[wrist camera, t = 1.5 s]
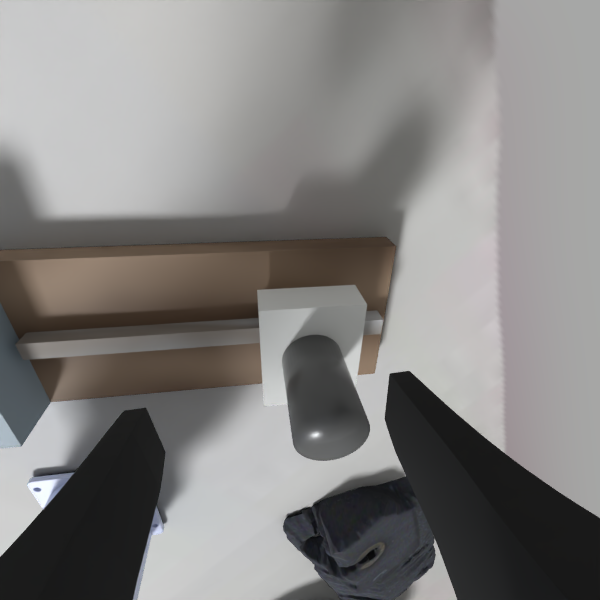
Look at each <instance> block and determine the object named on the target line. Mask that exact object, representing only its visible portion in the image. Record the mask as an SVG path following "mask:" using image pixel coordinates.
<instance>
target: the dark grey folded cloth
mask: <svg viewBox="0 0 600 600" xmlns="http://www.w3.org/2000/svg"><path fill="white" fill-rule="evenodd" d="M301 512H302V513H301V514H299V515H295V516H292V517H289V518H287V519H286V520H285V522H284V525H283V530H284V532H285V533H286V535H287V538H288V540H289V541H290V542H291V543H292V544H293V545H294V546H295V547H296V548H297V549H298V550H299V551H300V552H301V553H302V554H303V555H304V556H305V557H306V558H308V559H309V560H310V561H311V562H312V563H313V564H314V565H315V567H314V569H315V570H316V571H317V572H318V574H319V575H320V576H321V578H323V579H324V580H325V581H326V582H327V583H328V585H329V586H330V587H332V588H333V589H334V591H335V592H336V593H337V595H338V596H339V598H340V599H341V600H394V599H396V598H397V597H398V596H400V595H401V594H402V593H403V592H404V591H405V590H407V588H408V587H409V586H410V585H411V584H412V583H413V582H414V581H416V580H418V579H419V578H420V577H422V576H423V575H424V574H425V573H426V572H427V571H428V570H429V569H430V568H432V566H433V564H434V560H435V548H434V546H433V544H434V536H433V533H432V530H431V528H430V526H429V524H428V522H427V519H426V517H425V515H424V513H423V511H422V509H421V506H420V504H419V502H418V500H417V498H416V496H415V493H414V491H413V489H412V487H411V485H410V483H409V480H408V478H407V476H406V477H403V478H400V479H397V480H394V481H390V482H387V483H384V484H381V485H378V486H366V487H361V488H357V489H354V490H350V491H347V492H345V493H342V494H339V495H336V496H333V497H329V498H326V499H324V500H322V501H320V503H319V504H316V505H313V506H312V507H311V508H307V509H304V510H301ZM317 534H318V535H319V536H317V537H312V536H315V535H317Z"/></svg>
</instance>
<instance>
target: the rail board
mask: <svg viewBox="0 0 600 600" xmlns="http://www.w3.org/2000/svg"><path fill="white" fill-rule="evenodd" d="M395 251H396V246H395V245H394V244H393V243H392V242H391V241H390V240H389V239H388V238H387V237H371V238H341V239H311V240H282V241H252V242H222V243H192V244H163V245H133V246H103V247H73V248H44V249H14V250H0V303H1V305H2V307H3V309H4V311H5V313H6V315H7V317H8V319H9V321H10V323H11V325H12V327H13V329H14V331H15V333H16V335H17V336H18V338H19V341H18V342H17V343H16V344H15V345H16V347H17V349H18V351H19V353H20V355H21V357H22V359H23V360H30V362H31V364H32V366H33V368H34V370H35V372H36V374H37V376H38V378H39V380H40V382H41V384H42V386H43V388H44V390H45V392H46V394H47V396H48V398H49V400H50V402H57V401H68V400H79V399H91V398H102V397H113V396H125V395H136V394H147V393H159V392H170V391H181V390H192V389H204V388H215V387H226V386H238V385H249V384H260V383H262V367H261V350H260V331H259V314H258V296H257V290H264V289H283V288H302V287H321V286H341V285H356V287H357V289H358V290H359V292H360V294H361V295H362V297H363V298H364V300H365V302H366V303H367V310H366V317H365V325H364V332H363V339H362V347H361V354H360V361H359V369H358V375H362V374H373V373H375V369H376V363H377V357H378V351H379V345H380V339H381V333H382V327H383V321H384V315H385V310H386V304H387V298H388V292H389V286H390V280H391V274H392V268H393V262H394V256H395Z"/></svg>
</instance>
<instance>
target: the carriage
mask: <svg viewBox="0 0 600 600" xmlns="http://www.w3.org/2000/svg"><path fill="white" fill-rule="evenodd" d="M257 296H258V314H259V331H260V350H261V367H262V385H263V401H264V406H275V405H285V404H288V410H289V417H290V425H291V432H292V439H293V445H294V447H295V449H296V451H297V452H298V453H299V454H301V455H302V456H304V457H306V458H309V459H312V460H319V461H327V460H334V459H338V458H342V457H344V456H347V455H349V454H351V453H353V452H354V451H356V450H357V449H358V448H360V447H361V446H362V445H363V444H364V442H365V441H366V439H367V438H368V436H369V432H370V425H369V421H368V419H367V416H366V414H365V411H364V409H363V406H362V404H361V401H360V398H359V396H358V393H357V391H356V383H357V376H358V369H359V361H360V354H361V347H362V339H363V332H364V325H365V317H366V310H367V303H366V302H365V300H364V298H363V297H362V295H361V294H360V292H359V290H358V289H357V287H356V285H341V286H321V287H302V288H283V289H264V290H257Z"/></svg>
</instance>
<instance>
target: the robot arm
mask: <svg viewBox="0 0 600 600" xmlns="http://www.w3.org/2000/svg"><path fill="white" fill-rule="evenodd" d="M385 421H386V425H387V428H388V431H389V434H390V437H391V440H392V443H393V446H394V449H395V452H396V454H397V456H398V458H399V461H400V463H401V465H402V467H403V469H404V472H405V474H406V476H407V478H408V480H409V483H410V485H411V487H412V489H413V491H414V493H415V496H416V498H417V500H418V502H419V504H420V506H421V509H422V511H423V513H424V515H425V517H426V519H427V522H428V524H429V526H430V528H431V530H432V533H433V535H434V538H435V540H436V542H437V545H438V547H439V550H440V553H441V555H442V558H443V561H444V563H445V566H446V569H447V572H448V574H449V577H450V580H451V583H452V585H453V588H454V591H455V594H456V597H457V600H600V518H599V517H597V516H596V515H594V514H592V513H591V512H589V511H588V510H586V509H584V508H583V507H581V506H579V505H578V504H576V503H575V502H573V501H572V500H570V499H569V498H567V497H565V496H564V495H562V494H561V493H559V492H558V491H556V490H555V489H553V488H552V487H550V486H549V485H548V484H546V483H545V482H543V481H542V480H540V479H539V478H538V477H536V476H535V475H533V474H532V473H530V472H529V471H527V470H526V469H525V468H523V467H522V466H521V465H519V464H518V463H517V462H515V461H514V460H512V459H511V458H510V457H509V456H507V455H506V454H505V453H504V452H502V451H501V450H500V449H498V448H497V447H496V446H495V445H493V444H492V443H491V442H490V441H488V440H487V439H486V438H485V437H483V436H482V435H481V434H480V433H479V432H477V431H476V430H475V429H474V428H473V427H471V426H470V425H469V424H468V423H467V422H466V421H464V420H463V419H462V418H461V417H460V416H459V415H457V414H456V413H455V412H454V411H453V410H452V409H450V408H449V407H448V406H447V405H446V404H445V403H444V402H443V401H442V400H440V399H439V398H438V397H437V396H436V395H435V394H434V393H433V392H432V391H431V390H430V389H428V388H427V387H426V386H425V385H424V384H423V383H422V382H421V381H420V380H419V379H418V378H417V377H415V376H414V375H413V374H412V373H411V372H410V371H405V372H398V373H391V374H390V376H389V385H388V394H387V403H386V412H385ZM164 459H165V450H164V448H163V446H162V443H161V441H160V439H159V436H158V434H157V432H156V430H155V427H154V425H153V423H152V420H151V418H150V416H149V413H148V411H147V409H146V408H141V409H134V410H126V411H124V412H123V413H122V414H121V415H120V416H119V418H118V419H117V420H116V421H115V423H114V424H113V425H112V426H111V428H110V429H109V430H108V431H107V433H106V434H105V435H104V436H103V438H102V439H101V440H100V441H99V443H98V444H97V445H96V447H95V448H94V449H93V450H92V452H91V453H90V454H89V455H88V457H87V458H86V459H85V460H84V462H83V463H82V464H81V465H80V466H79V468H78V469H77V470H76V471H75V472H74V473H65V474H56V475H48V476H39V477H33V478H31V479H30V480H29V482H28V484H27V486H28V487H29V489H30V490H31V492H32V493H33V495H34V496H35V498H36V499H37V501H38V502H39V504H40V505H41V507H42V508H43V510H42V511H41V513H40V514H39V515H38V516H37V517H36V518H35V519H34V521H33V522H32V523H31V524H30V525H29V526H28V527H27V529H26V530H25V531H24V532H23V533H22V534H21V535H20V536H19V537H18V538H17V540H16V541H15V542H14V543H13V544H12V545H11V546H10V547H9V548H8V549H7V550H6V551H5V552H4V554H3V555H2V556H1V557H0V600H137V598H138V594H139V589H140V585H141V580H142V576H143V571H144V567H145V562H146V558H147V553H148V549H149V544H150V540H151V535H156V534H161V533H162V532H163V530H164V525H163V522H162V520H161V517H160V514H159V511H158V509H157V506H156V505H157V501H158V497H159V493H160V488H161V481H162V475H163V467H164Z"/></svg>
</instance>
